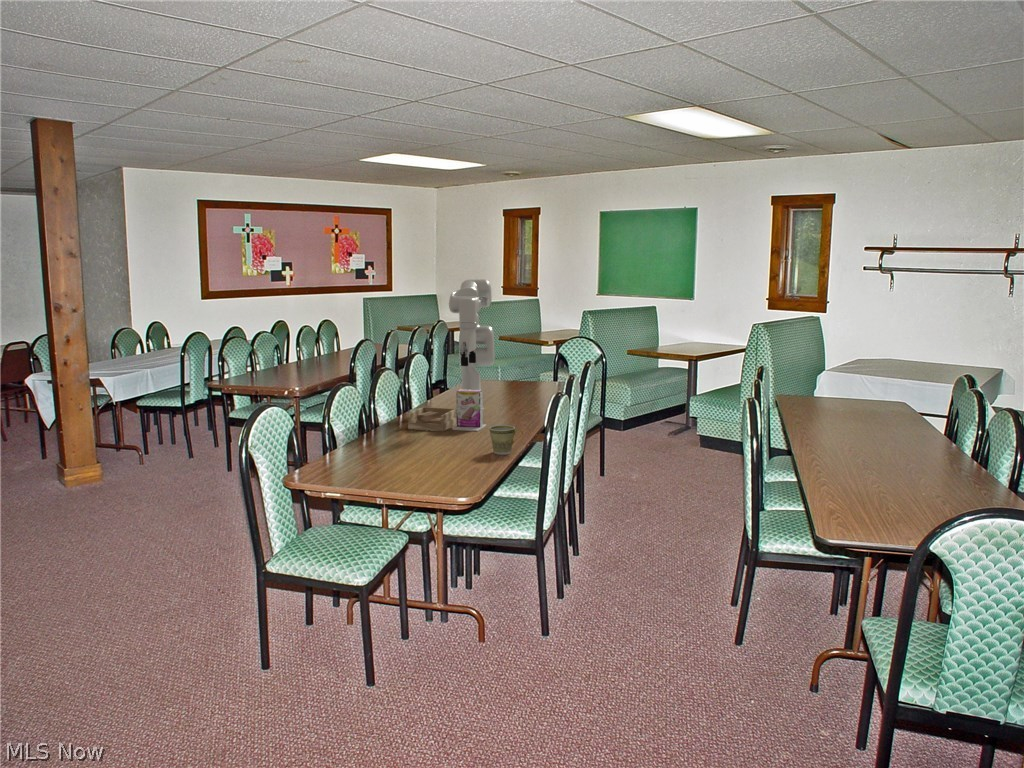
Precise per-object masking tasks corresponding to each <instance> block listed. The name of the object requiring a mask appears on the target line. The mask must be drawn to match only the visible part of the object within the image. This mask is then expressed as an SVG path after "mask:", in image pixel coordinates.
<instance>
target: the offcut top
mask: <svg viewBox="0 0 1024 768" xmlns="http://www.w3.org/2000/svg"><path fill="white" fill-rule="evenodd" d="M437 418H439V413H438V412H431V411H430V412H426V413H422V414H418V415H417V420H420V421H429V420H433V419H437Z"/></svg>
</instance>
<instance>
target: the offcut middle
mask: <svg viewBox="0 0 1024 768" xmlns="http://www.w3.org/2000/svg"><path fill="white" fill-rule="evenodd" d="M416 423H429V424H441V418H437V419H433V420H429V421H420V420H417V419H416Z"/></svg>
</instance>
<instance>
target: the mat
mask: <svg viewBox="0 0 1024 768" xmlns="http://www.w3.org/2000/svg"><path fill="white" fill-rule="evenodd" d="M486 427H487V424H486V423H485V424H484V423H483V425H482V426H481V427H460V426H457V425H455V426H453V427H451V430H452V431H466V432H467V431H468V432H478V431H480V430H482V429H484V428H486Z"/></svg>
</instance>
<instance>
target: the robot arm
mask: <svg viewBox="0 0 1024 768" xmlns="http://www.w3.org/2000/svg"><path fill="white" fill-rule="evenodd" d="M491 285H492V284H491V282H490V281H488V280H487V279H484V278H483V279H482V278H481V279H477V278H476V279H466V280H464V281H463V282H462V283H461V285H460V289H458V290H455V291H453V292H451V294H450V296H449V301H448V309H449V311H450V312H451V313H453V314H458V315H459V316H458V317H459V318H458V319H459V321H458V322H459V323H458V324H459V325H458V326H459V339H458V341H459V342H458V351H459V356H458V357H459V364H460V369H461V389H464V390H482V388H481V387H482V386H481V385H482V384H481V382H482V381H481V373H480V371H479V370H478V369H477V367H492V366H493V365H494V364H495V358H496V357H495V332H494V329H493V326H490V325H480V316H479V314H478V313H479V311H480V310H481V308H488V307H490V306H491V305H492V300H493V299H492V287H491ZM477 345H478V346H480V345H484V346H485V347H481V346H480V347H478V346H477ZM484 410H485V407H484V406H483V411H484Z"/></svg>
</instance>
